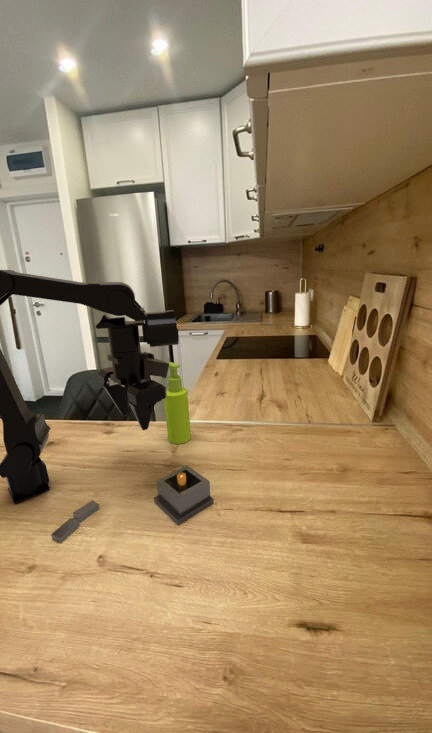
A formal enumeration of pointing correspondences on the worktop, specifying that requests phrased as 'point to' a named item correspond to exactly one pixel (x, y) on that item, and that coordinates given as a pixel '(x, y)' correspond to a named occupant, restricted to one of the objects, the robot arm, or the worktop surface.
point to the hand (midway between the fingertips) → (134, 421)
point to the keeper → (181, 487)
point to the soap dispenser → (177, 408)
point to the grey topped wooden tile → (86, 511)
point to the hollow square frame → (187, 498)
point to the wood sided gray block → (65, 530)
